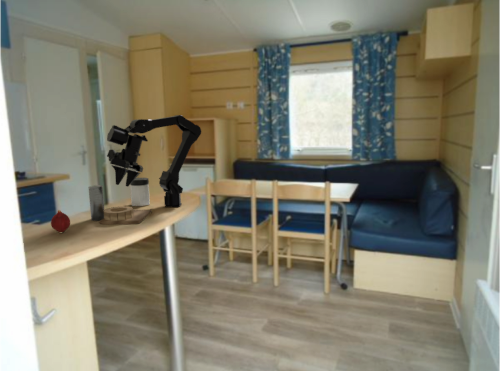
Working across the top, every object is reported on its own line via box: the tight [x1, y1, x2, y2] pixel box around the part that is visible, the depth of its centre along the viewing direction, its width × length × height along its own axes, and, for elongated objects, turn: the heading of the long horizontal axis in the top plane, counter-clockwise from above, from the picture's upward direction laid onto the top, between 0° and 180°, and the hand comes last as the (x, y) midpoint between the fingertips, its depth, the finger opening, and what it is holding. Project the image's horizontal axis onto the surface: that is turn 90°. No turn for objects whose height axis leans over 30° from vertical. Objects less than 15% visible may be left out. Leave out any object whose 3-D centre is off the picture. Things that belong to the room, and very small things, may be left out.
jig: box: [99, 205, 153, 225], centre depth 140 cm, size 15×18×4 cm
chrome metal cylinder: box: [88, 184, 105, 222], centre depth 138 cm, size 5×5×13 cm
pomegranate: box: [50, 209, 71, 233], centre depth 121 cm, size 6×6×8 cm
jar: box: [129, 177, 151, 207], centre depth 164 cm, size 9×8×12 cm
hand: (122, 185), depth 145 cm, fingers open, 9 cm apart
